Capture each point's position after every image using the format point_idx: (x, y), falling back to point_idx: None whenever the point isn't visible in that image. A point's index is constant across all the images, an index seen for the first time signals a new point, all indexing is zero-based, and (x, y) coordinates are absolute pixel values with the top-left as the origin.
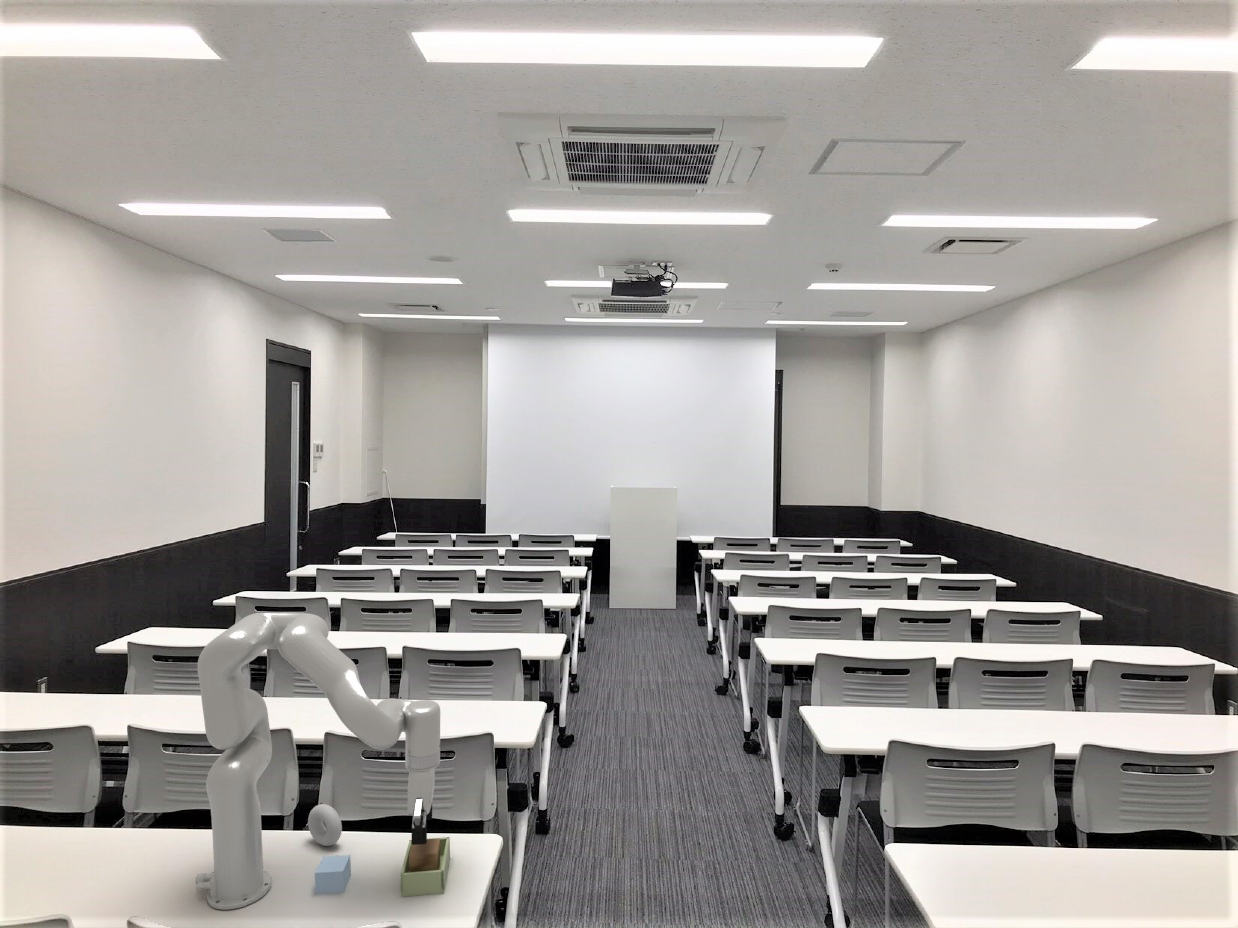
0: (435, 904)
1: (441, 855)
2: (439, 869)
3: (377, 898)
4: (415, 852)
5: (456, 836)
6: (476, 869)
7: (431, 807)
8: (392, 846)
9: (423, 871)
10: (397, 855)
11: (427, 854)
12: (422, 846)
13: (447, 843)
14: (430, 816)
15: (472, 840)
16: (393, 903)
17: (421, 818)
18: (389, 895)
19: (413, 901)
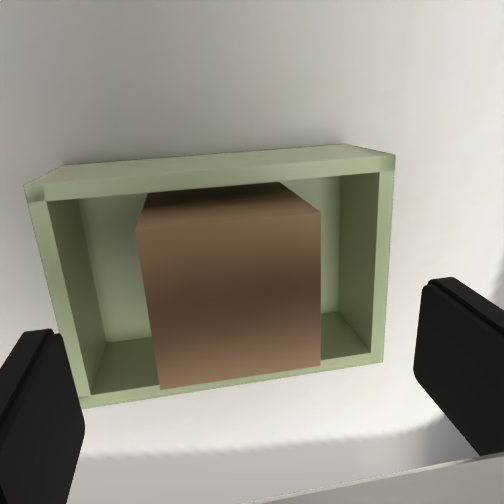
0: (20, 328)
1: (338, 288)
2: None
3: (40, 42)
4: (174, 263)
5: None
6: (250, 419)
7: (486, 452)
8: (475, 23)
9: (68, 312)
10: (395, 69)
11: (152, 340)
12: (239, 290)
13: (326, 365)
14: (427, 387)
15: None
16: (7, 140)
17: (428, 312)
18: (69, 103)
19: (32, 232)
